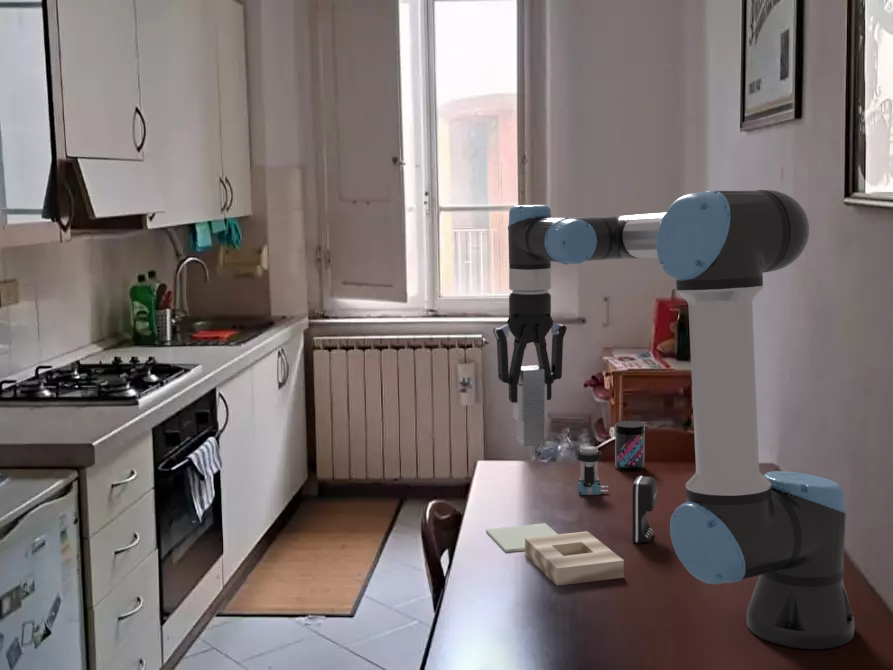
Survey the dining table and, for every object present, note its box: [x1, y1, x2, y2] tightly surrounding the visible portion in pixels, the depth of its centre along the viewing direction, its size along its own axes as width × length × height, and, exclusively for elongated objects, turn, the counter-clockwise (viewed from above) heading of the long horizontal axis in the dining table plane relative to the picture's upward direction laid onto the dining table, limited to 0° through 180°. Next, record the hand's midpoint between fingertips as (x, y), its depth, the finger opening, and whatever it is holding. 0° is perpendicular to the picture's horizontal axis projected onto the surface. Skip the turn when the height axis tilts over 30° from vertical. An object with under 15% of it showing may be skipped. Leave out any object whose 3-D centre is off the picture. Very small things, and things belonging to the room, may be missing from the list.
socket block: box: [524, 531, 625, 586], centre depth 187 cm, size 16×12×3 cm
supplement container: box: [614, 420, 646, 472], centre depth 248 cm, size 7×7×10 cm
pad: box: [485, 522, 559, 553], centre depth 202 cm, size 12×12×1 cm
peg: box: [515, 364, 545, 447], centre depth 196 cm, size 4×4×14 cm
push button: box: [575, 445, 609, 496], centre depth 229 cm, size 7×5×10 cm
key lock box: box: [631, 475, 658, 544], centre depth 200 cm, size 7×4×11 cm, turn 161°
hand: (530, 418), depth 197 cm, fingers closed on peg, 4 cm apart
